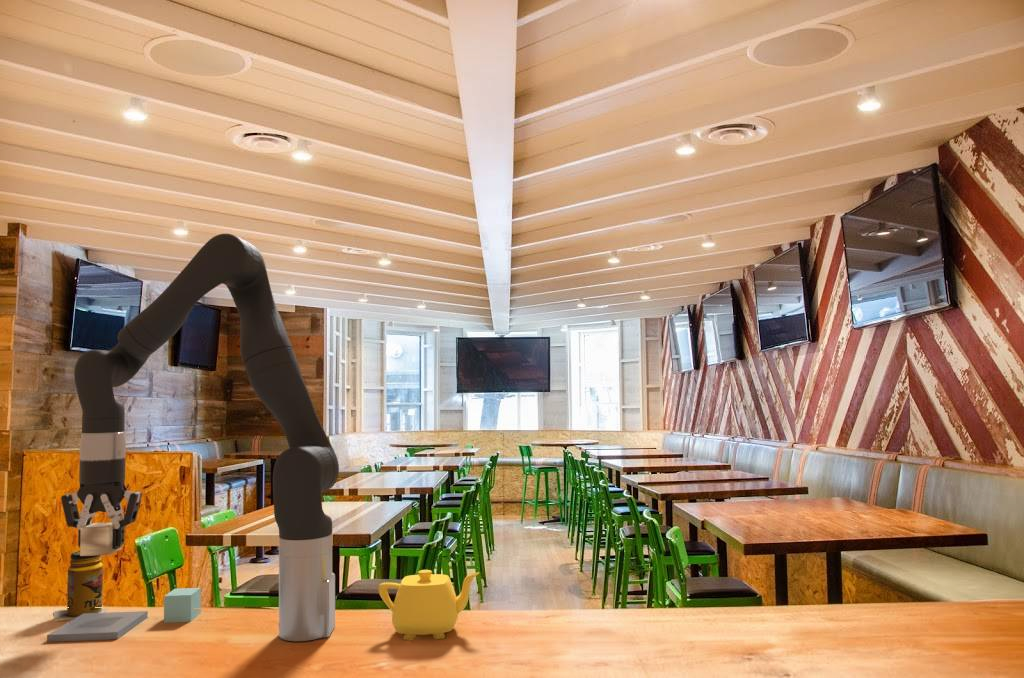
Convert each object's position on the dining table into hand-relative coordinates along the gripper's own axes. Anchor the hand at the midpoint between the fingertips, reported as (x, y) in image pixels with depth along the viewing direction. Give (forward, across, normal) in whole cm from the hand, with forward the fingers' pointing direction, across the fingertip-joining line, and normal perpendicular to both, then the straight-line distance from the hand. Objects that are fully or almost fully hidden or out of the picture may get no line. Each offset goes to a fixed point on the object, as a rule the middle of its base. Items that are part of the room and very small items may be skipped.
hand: (101, 548), depth 134 cm
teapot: (+15, -61, +9) cm, 63 cm away
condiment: (+15, +9, -10) cm, 20 cm away
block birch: (+1, 0, 0) cm, 1 cm away
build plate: (+15, 0, 0) cm, 15 cm away
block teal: (+15, -13, -5) cm, 20 cm away
